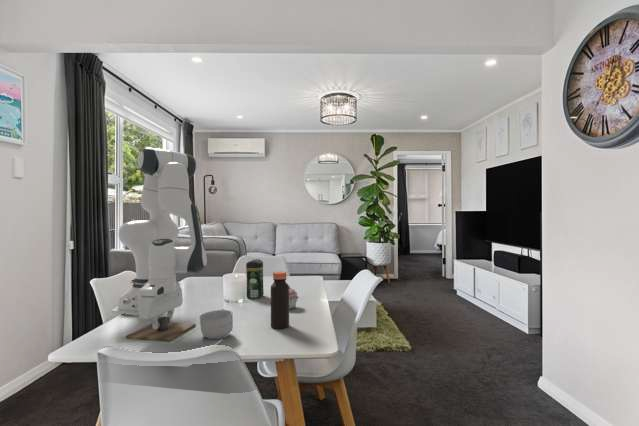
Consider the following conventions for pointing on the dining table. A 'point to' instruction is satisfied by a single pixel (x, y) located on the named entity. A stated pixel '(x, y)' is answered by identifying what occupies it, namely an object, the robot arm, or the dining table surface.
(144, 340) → the mat
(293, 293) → the cupcake
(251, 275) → the coffee jar
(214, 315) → the teacup
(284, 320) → the bottle
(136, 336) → the lid
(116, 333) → the dining table surface
